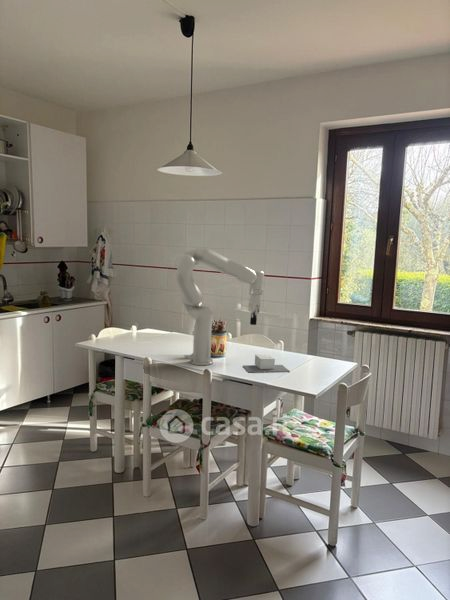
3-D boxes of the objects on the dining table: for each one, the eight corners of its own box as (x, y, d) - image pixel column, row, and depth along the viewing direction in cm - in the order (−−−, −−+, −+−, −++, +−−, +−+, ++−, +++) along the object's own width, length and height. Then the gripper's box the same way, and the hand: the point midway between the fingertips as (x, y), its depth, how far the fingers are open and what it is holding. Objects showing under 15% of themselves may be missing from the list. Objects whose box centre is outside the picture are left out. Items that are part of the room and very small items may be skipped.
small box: (254, 364, 242) (259, 369, 232) (254, 354, 242) (260, 358, 231) (268, 364, 244) (274, 369, 234) (269, 354, 243) (275, 358, 233)
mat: (248, 372, 227) (248, 371, 227) (242, 366, 239) (242, 365, 239) (289, 372, 232) (289, 371, 232) (282, 365, 243) (282, 364, 243)
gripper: (246, 290, 258) (243, 322, 260) (252, 293, 243) (249, 326, 245) (258, 291, 259) (256, 322, 261) (266, 294, 245) (263, 327, 247)
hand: (253, 324), depth 253 cm, fingers closed
